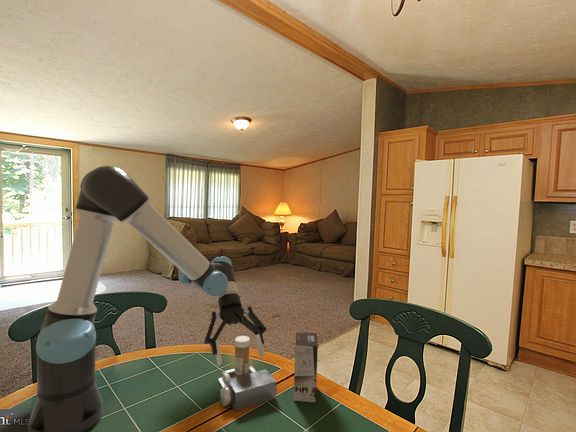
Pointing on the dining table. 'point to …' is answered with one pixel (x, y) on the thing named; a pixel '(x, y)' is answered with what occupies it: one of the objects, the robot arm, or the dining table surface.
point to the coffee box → (305, 367)
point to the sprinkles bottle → (242, 355)
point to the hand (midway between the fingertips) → (241, 360)
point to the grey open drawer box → (246, 388)
